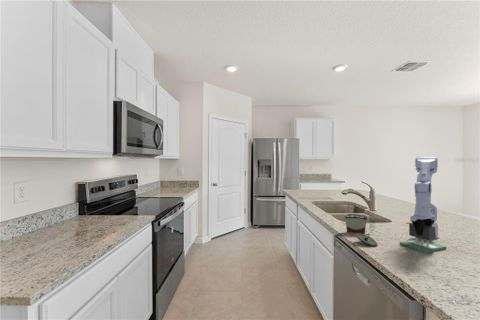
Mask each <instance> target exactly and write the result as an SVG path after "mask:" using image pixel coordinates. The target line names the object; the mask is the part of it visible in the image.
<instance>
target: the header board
mask: <svg viewBox="0 0 480 320" xmlns="http://www.w3.org/2000/svg"><path fill="white" fill-rule="evenodd" d="M399 245H400V246H403V247H406V248H409V249H412V250H414V251H417V252H421V253H424V254H427V253H433V252H437V251H438V252H439V251H444V250H447V246H445V245H443V244H439V243H435V242H432V241H429V240H425V239H421V238H418V237H415V239H411V240H404V241H403V240H402V241H399Z"/></svg>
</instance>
